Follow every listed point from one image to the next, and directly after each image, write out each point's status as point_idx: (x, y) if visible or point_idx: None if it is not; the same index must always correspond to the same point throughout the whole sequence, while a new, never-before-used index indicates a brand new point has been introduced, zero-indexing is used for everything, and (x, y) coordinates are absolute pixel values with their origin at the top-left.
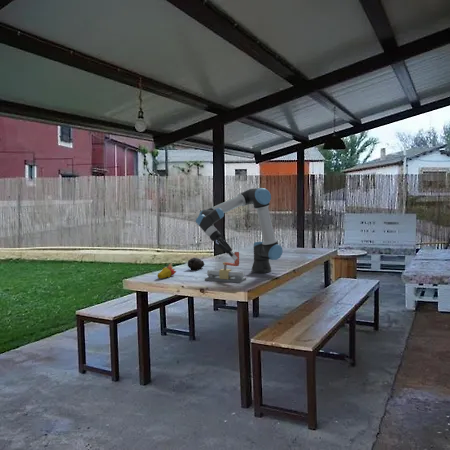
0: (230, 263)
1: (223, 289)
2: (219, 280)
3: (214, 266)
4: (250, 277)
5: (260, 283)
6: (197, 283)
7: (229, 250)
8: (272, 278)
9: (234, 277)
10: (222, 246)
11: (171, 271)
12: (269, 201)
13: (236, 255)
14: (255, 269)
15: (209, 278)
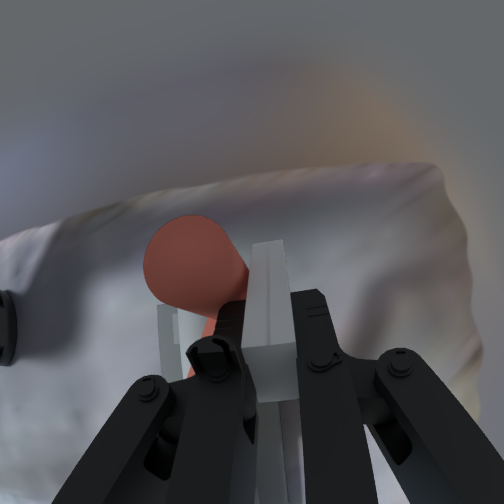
0: None
1: (462, 266)
2: (280, 431)
3: (16, 498)
4: (93, 319)
5: (230, 188)
6: (381, 488)
7: (333, 358)
8: (96, 212)
9: (171, 378)
10: (500, 484)
11: None
12: None
13: (240, 258)
14: (6, 340)
15: (273, 494)
